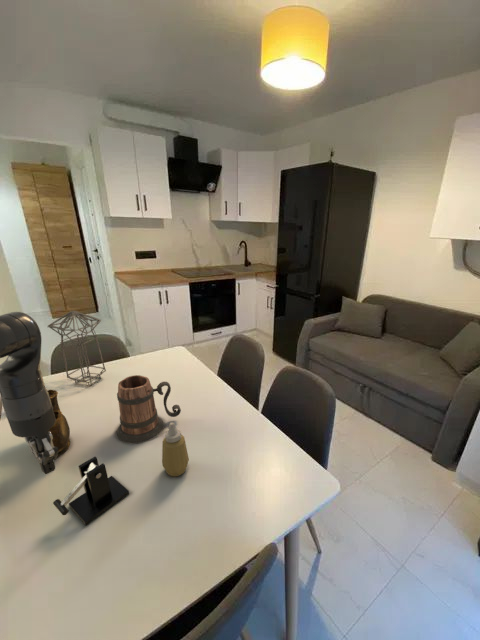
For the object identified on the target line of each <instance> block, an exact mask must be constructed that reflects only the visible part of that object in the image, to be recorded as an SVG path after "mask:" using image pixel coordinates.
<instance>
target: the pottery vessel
mask: <svg viewBox="0 0 480 640" xmlns="http://www.w3.org/2000/svg"><path fill="white" fill-rule="evenodd" d="M47 391H48V394H49V397H50V400H51V404H52V407H53V411H54V414H55V418H56V421H55V424H54V425H53V426H52V427H51V428H50V429H49V431H48V432H51V433H52V436H53V439H52V442H53V446H54V447H57V448H58V449H59V452H58V455H57V457H58V456H60V455H63V454H64V453H66V452H67V450H69V448H70V447H71V439H70V437H71V433H70V432H71V429H70V425H69V422H68V420H67V417H66V416H65V415H64V414H63V412H62V411H61V408H60V406H59V405H60V404H59V401H58V394H59V392H58V390H56V389H47Z"/></svg>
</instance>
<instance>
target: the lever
mask: <svg viewBox="0 0 480 640" xmlns="http://www.w3.org/2000/svg"><path fill="white" fill-rule="evenodd" d="M97 466H98V465H96V464H94V463H93V462H92V463H91V464H90V465H89V466H88V467H87V468H86V470H85V471H84V473H85V474H86V473H87V472H89V471H91V470H92V469H94V468H96V467H97ZM87 481H88V479H87V476H86V475H85V476H84V477H83V478H81V479H80V480H79V481H78V482H77V484H76V485H75V486H74V487H73V488H72V489H71V490H70V491H69V492H68V494H67V495H66V496H65V498H63V500H60V498H57V499H55V500H54V501H53V505H54V507H55V508H56V509H57V510H58V511H59V513H60V514H61V515H62V516H66V515H68V514H69V511H70V510H69V509H68V507H67V505H69V503H70V502H72V500H73V498H75V496H76V495H77V494H78V493H79V491H80V490H81V489H82V488H84V484H85V483H86V482H87Z"/></svg>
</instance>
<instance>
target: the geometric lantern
mask: <svg viewBox="0 0 480 640" xmlns="http://www.w3.org/2000/svg"><path fill="white" fill-rule="evenodd" d="M62 319H63V320H62ZM61 320H62V321H61ZM59 321H61V322H59ZM78 321H79V322H80V324H81V326H82V327H79V324H78V323H79V322H78ZM89 321H90V322H89ZM94 321H95V322H94ZM101 321H102V319H100V318H97V317H94V316H92V315H89V314H86V313H83V312H80V311H77V310H70V311H69V312H67V313H66V314H64V315H62V316H61V317H59V318H58V319H56V320H55V321H53V322H51V323H49V324H48V325H47V328H49V329H50V330H52V331H54V332H55V333H57V334H58V335H59V336H60V342H59V343H60V347H61V352H62V357H63V362H64V363H63V364H64V368H65V373H66V378H67V379H69V380H72V381H74V384H75V385H78V386H79V385H80V386H84V387H85V386H86V387H90V386H92V385H94V384H96V383H97V382H99V381H101V380H102V377H101V376H102V375H103V374H104V373H106V372H107V369H106V366H105V363H104V359H103V354H102V351H101V348H100V343H99V340H98V336H97V335H98V334H97V333H96V331H95V328H96V327H97V326H98V325H99V324H100V323H101ZM57 322H58V323H57ZM75 322H76V326H77V331H78V332H80V334H79V333H78V332H77V331H76V326H75ZM90 323H91V324H90ZM64 324H65V325H64ZM71 324H72V327H70V326H71ZM58 325H59V326H58ZM63 325H64V327H63ZM88 328H90V330H89V331H88V330H87V329H88ZM56 329H57V330H56ZM66 331H67V333H65V332H66ZM73 332H74V333H75V334H74V335H71V334H72V333H73ZM90 333H92V334H90ZM69 335H71V336H69ZM64 336H66V338H64ZM79 336H81V340H82V341H81V343H80V337H79ZM74 337H76V338H77V343H76V342H75V341H74V340H73V339H72V338H74ZM86 337H93V338H91V339H90V340H87V341H85V339H86ZM66 340H70V342H71V343H67V342H64V341H66ZM94 340H95V344H96V347H97V350H98V354H99V357H100V360H101V363H102V367H101V366H96V365H90V360H89V356H88V352H87V347H86V344H88V343H90V342H92V341H94ZM65 345H71V346H75V349H76V352H77V358H78V362H79V366H80V367H79V368H77V369H75V370H73V371H72V372H70V373H69V371H68V363H67V358H66V352H65V351H66V349H65ZM84 362H85V365H84ZM90 367H91V368H95V369H96V368H97V369H102V370H101V371H100V372H99V373H96V372H90V369H89V368H90ZM85 368H86V370H87V371H85ZM78 371H80V372H81V375H80V376H78V377H71V376H70V375H72V374H74V373H76V372H78ZM93 375H94V376H93ZM81 377H82V378H81ZM79 378H81V379H79ZM85 378H88V379H85ZM96 379H97V380H96ZM95 380H96V381H95ZM93 381H94V382H93ZM79 382H80V383H79ZM92 382H93V383H92ZM82 383H86V384H82Z"/></svg>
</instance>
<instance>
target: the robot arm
mask: <svg viewBox="0 0 480 640" xmlns="http://www.w3.org/2000/svg"><path fill="white" fill-rule="evenodd" d="M5 357H6V359H5V360H4V361H3V362H2V363H1V364H0V397H1V403H2V407H3V411H4V413H5V417H6V419H7V422H8V424H9V427H10V431H11V432H12V434H13V435H14V436H16V437H18V438H24V441H25V442H26V443H27V444H28V448H29V450H30V451H31V453H32V454H33V455H34V456H35V459H36V460H37V461H38V463H39V466H40V469H41V471H42V473H43V474H44V475H48V474H50V473H53V472H54V471H55V470H56V464H55V462H54V460H57V458H58V456H59V455H58V452H59V449H58V448H57V447H54V446H53V442H52V439H53V436H52V433H51V432H48V431H49V429H50V428H51V427H52V426H53V425H54V424H55V421H56V418H55V414H54V411H53V407H52V404H51V400H50V397H49V394H48V389H47V387H46V385H45V380H44V377H43V374H42V371H41V359H42V331H41V328H40V326H39V325H38V323H37V322H36V320H35V319H34V318H33V317H31V315H30V314H28V313H26V312H22V311H12V312H7V313H4V314H1V315H0V359H2V358H5ZM57 455H58V456H57Z"/></svg>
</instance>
